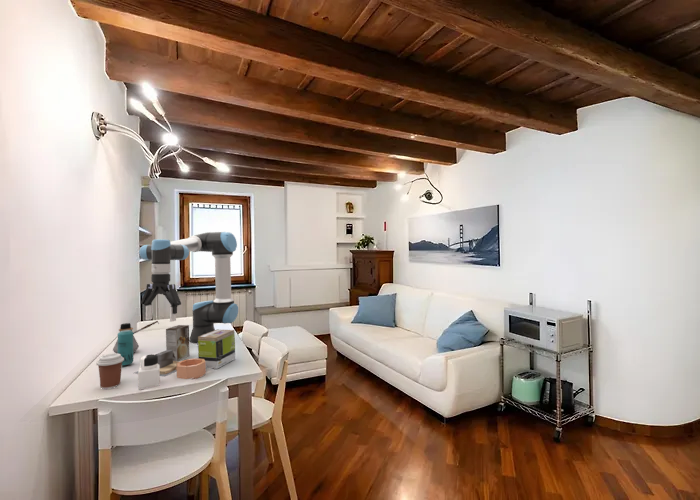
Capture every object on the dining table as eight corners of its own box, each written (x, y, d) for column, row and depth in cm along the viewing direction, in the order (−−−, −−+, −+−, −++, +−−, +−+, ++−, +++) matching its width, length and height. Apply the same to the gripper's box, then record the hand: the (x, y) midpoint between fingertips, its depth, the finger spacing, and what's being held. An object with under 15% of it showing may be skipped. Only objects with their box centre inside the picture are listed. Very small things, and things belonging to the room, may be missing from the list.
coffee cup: (125, 386, 137) (125, 356, 137) (97, 392, 131) (96, 361, 131) (122, 379, 144) (122, 351, 144) (95, 385, 138) (95, 355, 138)
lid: (163, 362, 164) (163, 347, 164) (186, 364, 161) (186, 349, 161) (140, 371, 152) (140, 355, 152) (164, 374, 148) (164, 357, 148)
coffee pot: (114, 357, 174) (114, 328, 174) (111, 352, 183) (111, 324, 183) (161, 349, 188) (161, 322, 188) (156, 345, 197) (156, 319, 197)
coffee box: (178, 356, 176) (178, 324, 176) (189, 356, 175) (189, 325, 175) (165, 361, 167) (165, 328, 167) (177, 362, 166) (177, 329, 166)
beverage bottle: (119, 365, 163) (118, 322, 163) (135, 363, 165) (135, 321, 165) (115, 369, 157) (115, 325, 157) (132, 367, 159) (131, 324, 159)
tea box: (218, 358, 173) (218, 328, 173) (235, 359, 170) (235, 329, 170) (197, 368, 158) (197, 335, 158) (216, 369, 156) (216, 337, 156)
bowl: (189, 369, 156) (189, 357, 156) (210, 371, 153) (210, 359, 153) (170, 378, 145) (170, 365, 145) (192, 381, 142) (192, 367, 142)
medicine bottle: (159, 381, 142) (159, 352, 142) (159, 387, 136) (159, 356, 136) (139, 384, 139) (139, 354, 139) (138, 390, 133) (138, 359, 133)
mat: (163, 362, 167) (163, 360, 167) (193, 365, 162) (193, 363, 162) (132, 374, 150) (132, 373, 150) (164, 377, 146) (164, 376, 146)
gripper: (132, 273, 156) (131, 320, 156) (177, 274, 149) (176, 323, 149) (146, 272, 163) (145, 317, 163) (189, 273, 156) (189, 320, 156)
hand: (160, 320), depth 156 cm, fingers open, 13 cm apart
